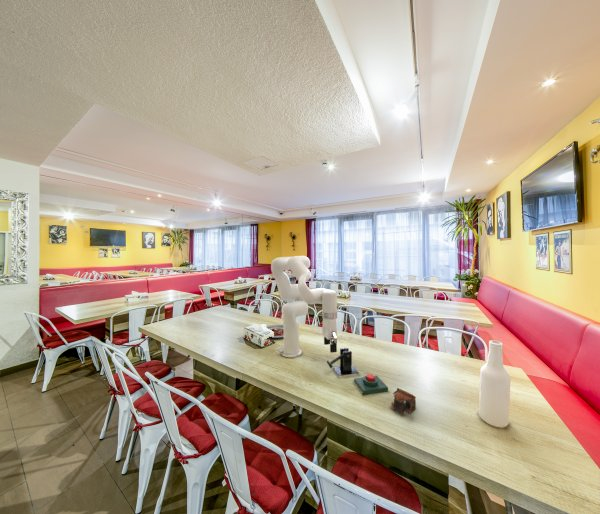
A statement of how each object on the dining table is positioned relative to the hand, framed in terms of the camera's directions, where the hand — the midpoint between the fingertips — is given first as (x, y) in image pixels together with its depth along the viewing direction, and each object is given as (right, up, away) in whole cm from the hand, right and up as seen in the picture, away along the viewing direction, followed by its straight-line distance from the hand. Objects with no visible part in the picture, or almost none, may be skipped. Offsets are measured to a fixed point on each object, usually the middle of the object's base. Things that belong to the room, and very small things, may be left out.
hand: (330, 348), depth 123 cm
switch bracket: (+8, -14, +3) cm, 16 cm away
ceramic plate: (-33, -11, +58) cm, 68 cm away
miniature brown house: (+27, -15, -26) cm, 40 cm away
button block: (+17, -14, -11) cm, 25 cm away
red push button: (+17, -11, -11) cm, 23 cm away
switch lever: (+5, -7, +2) cm, 9 cm away
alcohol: (+58, -15, -32) cm, 68 cm away
